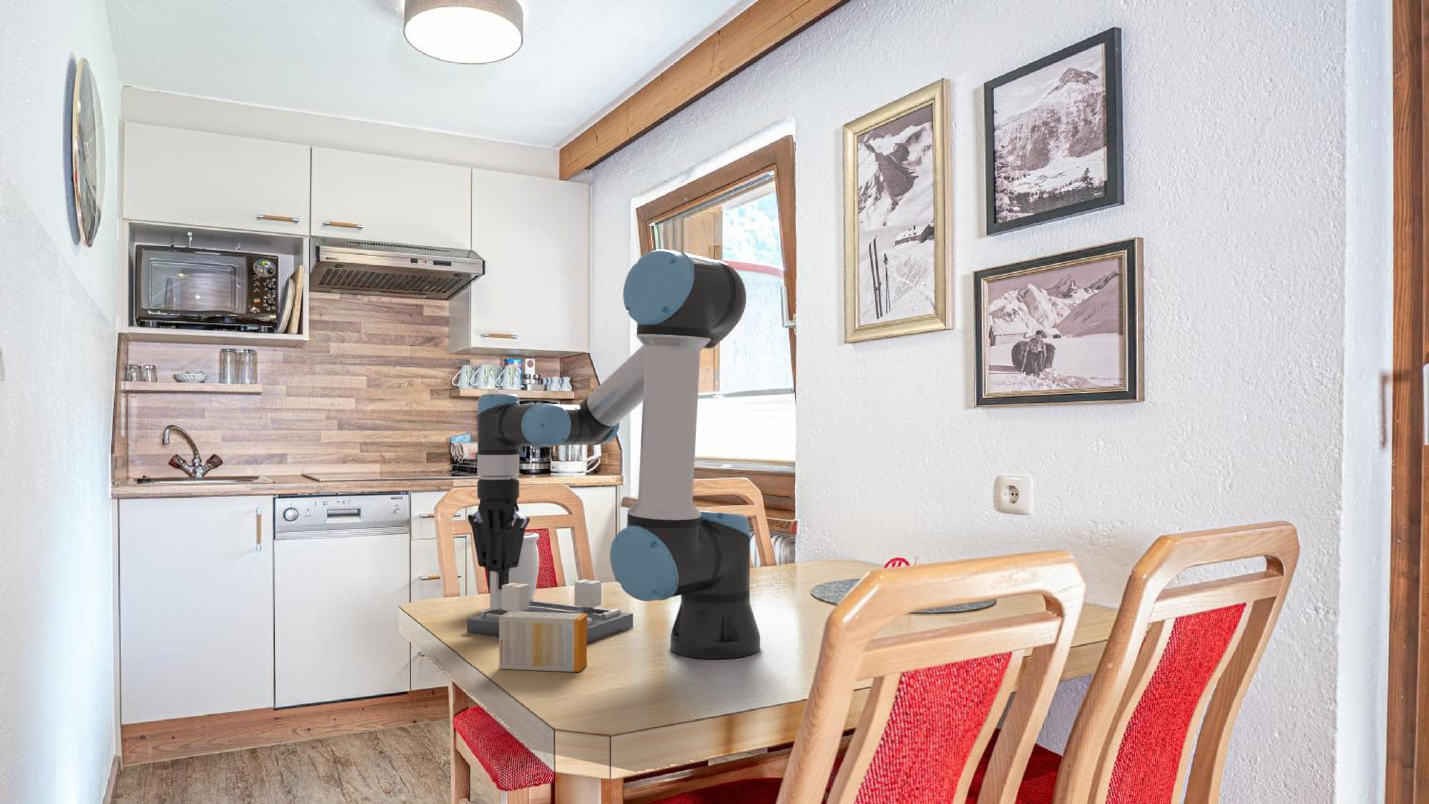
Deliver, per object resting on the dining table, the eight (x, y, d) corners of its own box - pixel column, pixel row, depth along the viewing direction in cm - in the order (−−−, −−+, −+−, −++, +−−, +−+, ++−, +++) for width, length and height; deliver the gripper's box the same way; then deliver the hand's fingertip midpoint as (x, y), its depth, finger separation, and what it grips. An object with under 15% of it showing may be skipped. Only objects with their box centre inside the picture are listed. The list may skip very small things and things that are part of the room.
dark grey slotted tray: (633, 626, 173) (633, 607, 173) (574, 647, 157) (574, 627, 157) (530, 614, 184) (530, 596, 185) (466, 632, 169) (467, 613, 169)
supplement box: (588, 612, 147) (509, 609, 149) (579, 619, 142) (497, 615, 144) (588, 665, 147) (508, 661, 149) (579, 674, 142) (497, 669, 144)
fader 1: (529, 615, 169) (529, 584, 169) (519, 618, 167) (519, 586, 167) (512, 613, 171) (512, 582, 171) (501, 616, 169) (502, 584, 169)
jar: (485, 604, 194) (485, 532, 194) (535, 601, 197) (536, 530, 197) (488, 614, 184) (489, 538, 184) (541, 611, 187) (542, 536, 187)
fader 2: (601, 611, 173) (601, 580, 173) (592, 614, 170) (592, 583, 170) (583, 609, 175) (583, 578, 175) (574, 612, 172) (574, 581, 172)
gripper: (539, 477, 172) (539, 606, 171) (485, 475, 178) (484, 599, 177) (512, 479, 165) (512, 613, 165) (457, 477, 171) (456, 606, 171)
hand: (498, 606), depth 171 cm, fingers closed
